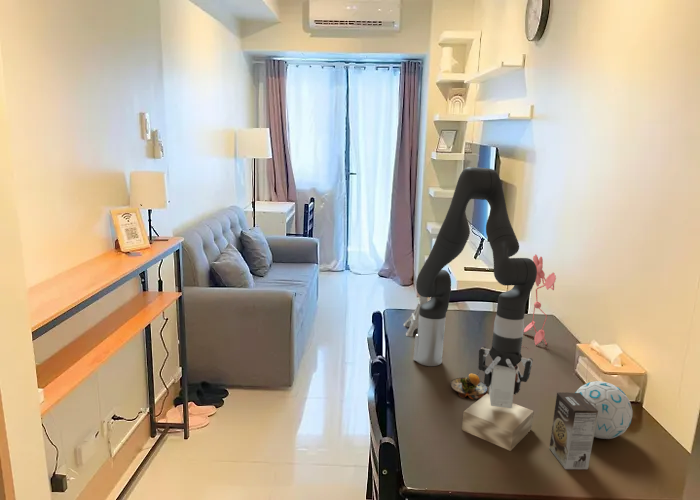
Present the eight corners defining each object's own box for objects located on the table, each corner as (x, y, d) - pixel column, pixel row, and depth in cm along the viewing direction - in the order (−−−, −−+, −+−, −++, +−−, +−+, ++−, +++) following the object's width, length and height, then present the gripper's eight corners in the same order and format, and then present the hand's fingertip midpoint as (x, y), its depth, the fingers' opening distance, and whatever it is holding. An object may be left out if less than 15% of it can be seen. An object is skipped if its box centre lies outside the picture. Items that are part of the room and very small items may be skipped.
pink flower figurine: (532, 328, 226) (542, 248, 219) (557, 353, 201) (569, 263, 194) (496, 327, 226) (505, 247, 218) (517, 351, 200) (528, 262, 193)
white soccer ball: (560, 418, 154) (567, 370, 151) (612, 421, 154) (620, 373, 150) (580, 448, 139) (588, 396, 136) (638, 452, 139) (648, 399, 136)
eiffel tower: (439, 338, 211) (446, 264, 204) (406, 336, 211) (411, 263, 205) (435, 326, 224) (440, 256, 218) (403, 324, 224) (408, 255, 218)
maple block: (461, 431, 146) (463, 411, 144) (484, 412, 156) (486, 393, 155) (510, 452, 137) (512, 431, 136) (531, 430, 147) (533, 410, 146)
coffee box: (547, 448, 139) (555, 391, 135) (571, 448, 139) (580, 391, 136) (564, 470, 130) (573, 410, 126) (589, 469, 130) (599, 410, 127)
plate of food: (463, 378, 177) (465, 358, 175) (494, 392, 169) (497, 370, 167) (442, 389, 168) (444, 368, 167) (474, 404, 160) (476, 381, 159)
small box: (512, 409, 140) (516, 372, 138) (490, 406, 141) (494, 369, 139) (509, 395, 148) (513, 359, 146) (488, 392, 149) (492, 357, 147)
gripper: (477, 329, 141) (471, 387, 144) (533, 342, 134) (525, 402, 137) (485, 321, 147) (479, 377, 151) (539, 333, 140) (531, 391, 144)
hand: (501, 389), depth 144 cm, fingers closed on small box, 6 cm apart
